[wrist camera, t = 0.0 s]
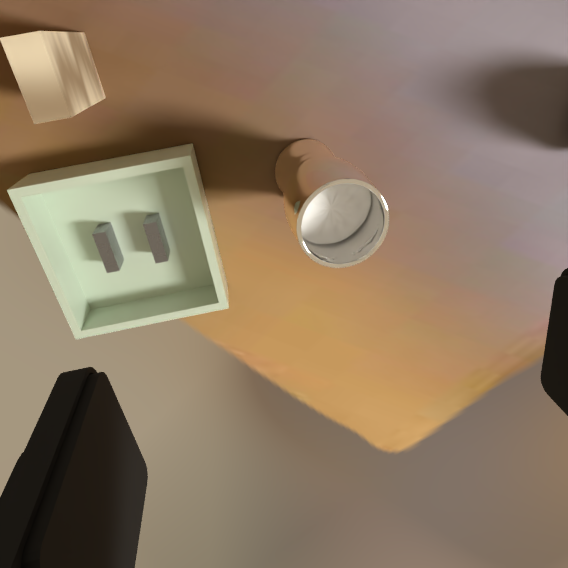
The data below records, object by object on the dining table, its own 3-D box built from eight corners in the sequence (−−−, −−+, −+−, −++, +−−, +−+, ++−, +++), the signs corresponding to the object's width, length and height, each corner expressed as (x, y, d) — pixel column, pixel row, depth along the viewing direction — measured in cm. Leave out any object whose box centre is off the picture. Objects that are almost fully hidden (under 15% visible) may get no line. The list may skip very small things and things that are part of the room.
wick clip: (98, 224, 44) (92, 234, 41) (158, 212, 44) (156, 222, 42) (112, 261, 46) (107, 273, 43) (170, 250, 46) (168, 261, 44)
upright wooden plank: (54, 37, 37) (-1, 37, 28) (84, 32, 37) (39, 30, 28) (77, 102, 40) (34, 124, 30) (105, 98, 40) (71, 117, 30)
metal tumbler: (256, 161, 44) (274, 214, 31) (317, 118, 43) (363, 154, 30) (294, 218, 47) (325, 288, 34) (353, 179, 46) (408, 236, 33)
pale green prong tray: (28, 174, 42) (6, 190, 37) (192, 143, 42) (190, 155, 38) (88, 312, 49) (75, 339, 45) (227, 284, 50) (228, 308, 45)
